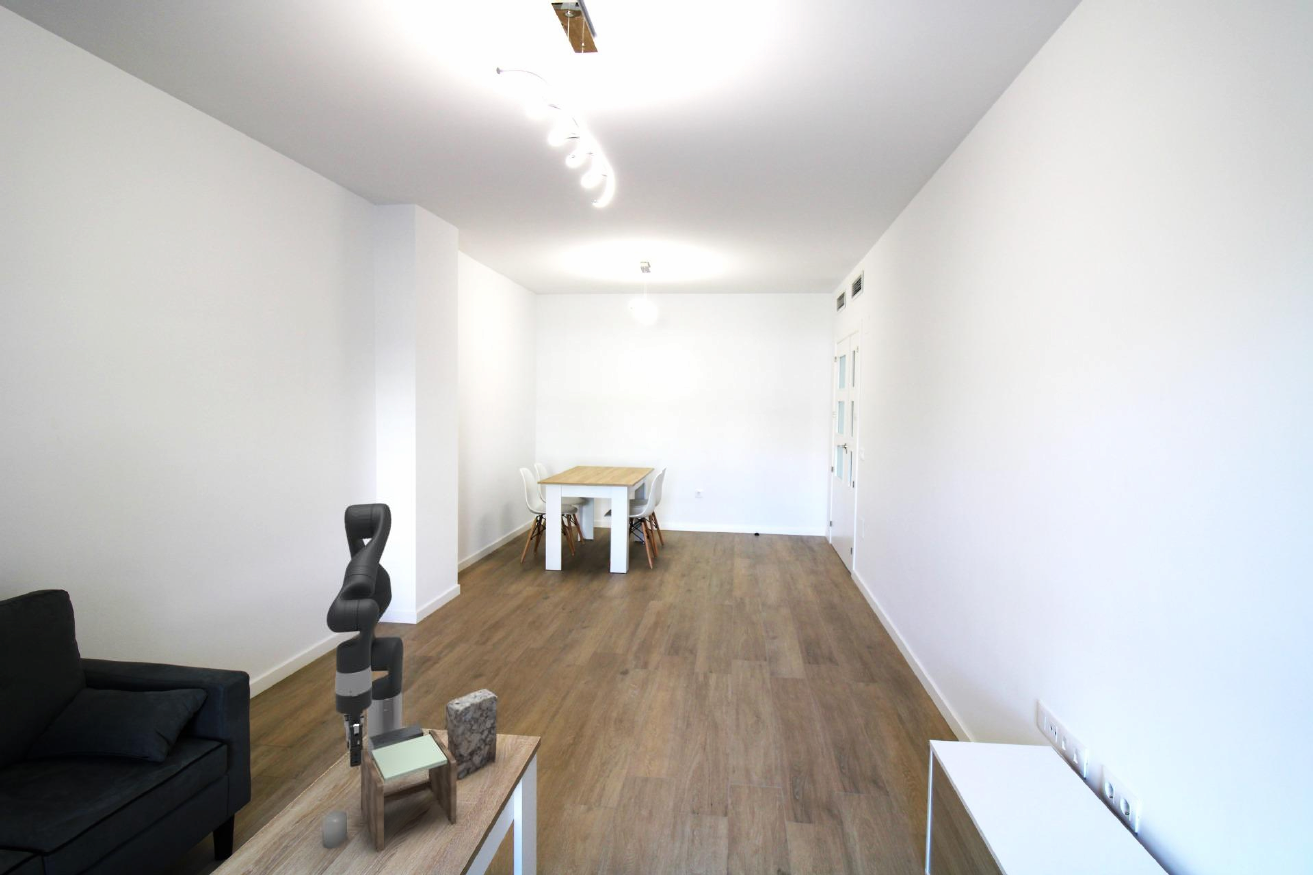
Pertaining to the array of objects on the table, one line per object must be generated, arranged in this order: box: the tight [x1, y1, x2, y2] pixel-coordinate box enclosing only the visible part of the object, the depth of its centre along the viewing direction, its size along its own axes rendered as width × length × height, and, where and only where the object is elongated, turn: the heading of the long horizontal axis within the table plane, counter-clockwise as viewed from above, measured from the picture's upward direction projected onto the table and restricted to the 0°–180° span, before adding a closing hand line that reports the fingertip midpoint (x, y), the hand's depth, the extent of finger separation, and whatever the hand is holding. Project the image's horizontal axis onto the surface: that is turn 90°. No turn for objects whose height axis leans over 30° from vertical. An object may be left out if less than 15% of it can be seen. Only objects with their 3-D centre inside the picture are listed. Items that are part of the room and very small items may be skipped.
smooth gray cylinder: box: [322, 810, 348, 849], centre depth 143 cm, size 5×5×6 cm
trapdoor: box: [370, 723, 447, 784], centre depth 154 cm, size 21×14×3 cm, turn 36°
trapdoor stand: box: [360, 729, 458, 853], centre depth 152 cm, size 18×18×15 cm
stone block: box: [445, 688, 499, 780], centre depth 173 cm, size 13×7×20 cm, turn 145°
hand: (354, 756), depth 143 cm, fingers open, 8 cm apart
